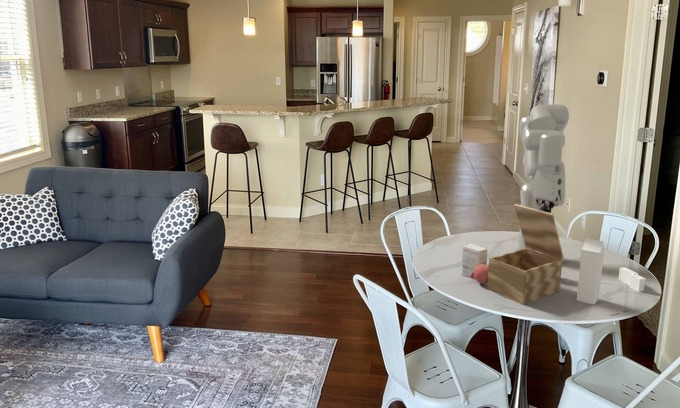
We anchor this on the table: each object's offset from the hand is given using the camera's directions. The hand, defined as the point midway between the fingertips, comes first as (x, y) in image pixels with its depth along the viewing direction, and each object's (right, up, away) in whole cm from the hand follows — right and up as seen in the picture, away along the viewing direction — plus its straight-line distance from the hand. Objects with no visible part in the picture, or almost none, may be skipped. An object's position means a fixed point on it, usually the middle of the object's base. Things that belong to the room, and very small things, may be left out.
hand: (544, 218), depth 205 cm
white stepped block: (+34, -26, +5) cm, 43 cm away
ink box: (-22, -23, +15) cm, 35 cm away
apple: (-20, -25, +8) cm, 33 cm away
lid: (-3, -5, 0) cm, 6 cm away
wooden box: (-7, -26, +2) cm, 27 cm away
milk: (+13, -28, -6) cm, 32 cm away
